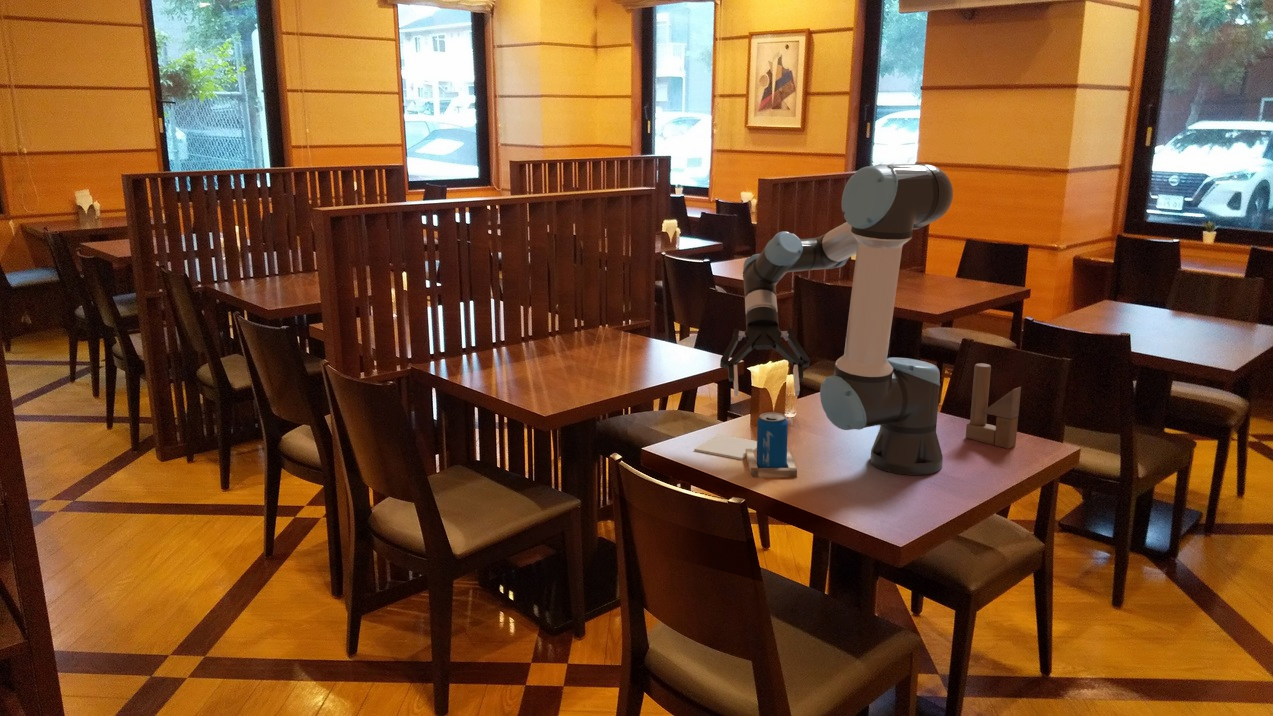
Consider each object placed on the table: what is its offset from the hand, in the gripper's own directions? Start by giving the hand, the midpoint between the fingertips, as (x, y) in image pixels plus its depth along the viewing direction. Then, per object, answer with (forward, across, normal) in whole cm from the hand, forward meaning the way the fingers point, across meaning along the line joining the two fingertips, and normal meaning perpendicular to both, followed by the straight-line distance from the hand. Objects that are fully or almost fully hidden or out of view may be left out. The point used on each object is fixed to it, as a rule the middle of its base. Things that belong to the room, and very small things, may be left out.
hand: (766, 393), depth 200 cm
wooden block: (+4, -53, -16) cm, 56 cm away
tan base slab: (+16, 0, -5) cm, 16 cm away
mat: (+7, +8, -13) cm, 17 cm away
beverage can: (+17, 0, -4) cm, 17 cm away
